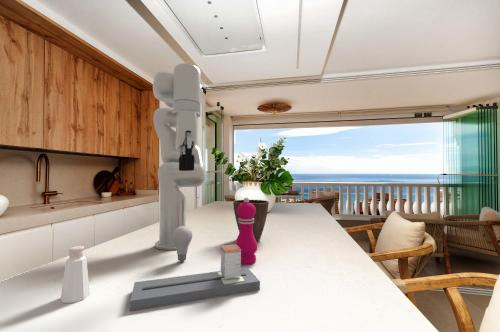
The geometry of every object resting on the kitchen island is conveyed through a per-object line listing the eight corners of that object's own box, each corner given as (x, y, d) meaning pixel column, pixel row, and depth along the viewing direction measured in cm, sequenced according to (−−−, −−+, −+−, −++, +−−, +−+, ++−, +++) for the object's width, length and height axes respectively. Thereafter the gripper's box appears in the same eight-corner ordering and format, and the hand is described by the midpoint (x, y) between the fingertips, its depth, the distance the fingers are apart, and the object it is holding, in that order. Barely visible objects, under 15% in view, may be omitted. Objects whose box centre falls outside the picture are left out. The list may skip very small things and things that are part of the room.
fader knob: (220, 272, 62) (221, 245, 63) (235, 270, 64) (236, 244, 64) (224, 279, 59) (224, 250, 59) (240, 277, 60) (240, 248, 60)
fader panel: (134, 290, 58) (134, 281, 58) (247, 274, 67) (247, 266, 67) (129, 311, 49) (130, 299, 49) (259, 289, 59) (259, 280, 59)
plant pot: (227, 237, 106) (228, 200, 107) (258, 234, 113) (258, 198, 113) (241, 246, 93) (241, 204, 93) (275, 242, 99) (275, 202, 100)
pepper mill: (255, 266, 73) (255, 199, 74) (231, 264, 75) (232, 198, 76) (259, 258, 81) (259, 196, 81) (237, 256, 82) (238, 196, 83)
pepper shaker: (56, 305, 51) (57, 252, 51) (64, 294, 56) (65, 245, 56) (87, 300, 53) (88, 249, 54) (91, 289, 58) (93, 242, 59)
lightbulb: (195, 259, 79) (196, 225, 79) (184, 266, 73) (185, 229, 73) (179, 257, 81) (179, 223, 81) (167, 263, 75) (168, 227, 75)
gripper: (171, 115, 77) (170, 170, 76) (174, 100, 60) (173, 170, 60) (196, 117, 79) (195, 171, 79) (205, 103, 63) (204, 170, 62)
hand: (186, 170), depth 69 cm, fingers open, 9 cm apart
